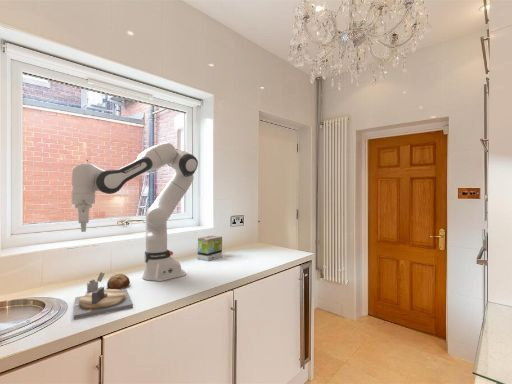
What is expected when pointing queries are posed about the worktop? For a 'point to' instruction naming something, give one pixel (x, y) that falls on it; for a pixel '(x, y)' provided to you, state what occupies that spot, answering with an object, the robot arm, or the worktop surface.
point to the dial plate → (84, 312)
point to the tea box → (209, 248)
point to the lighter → (94, 283)
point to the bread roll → (118, 282)
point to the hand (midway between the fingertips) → (83, 231)
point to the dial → (102, 298)
